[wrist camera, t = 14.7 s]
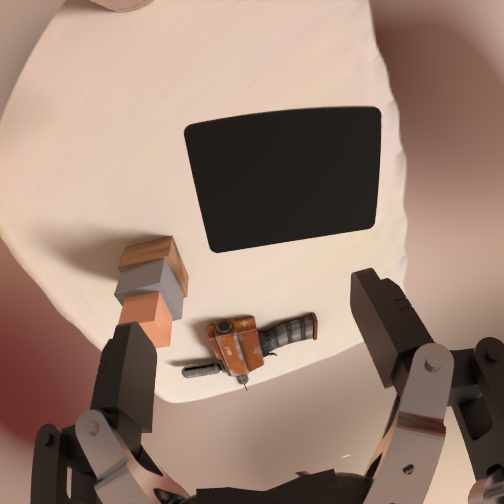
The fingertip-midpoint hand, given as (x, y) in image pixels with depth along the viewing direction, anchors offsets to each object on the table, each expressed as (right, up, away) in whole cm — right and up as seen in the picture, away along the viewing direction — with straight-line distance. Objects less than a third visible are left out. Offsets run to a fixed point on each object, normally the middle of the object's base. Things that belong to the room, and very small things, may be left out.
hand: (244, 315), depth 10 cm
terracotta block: (-13, -5, +27) cm, 30 cm away
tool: (-1, -20, +52) cm, 56 cm away
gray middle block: (-14, -2, +31) cm, 34 cm away
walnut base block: (-15, +1, +35) cm, 38 cm away
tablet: (+6, +13, +30) cm, 33 cm away
